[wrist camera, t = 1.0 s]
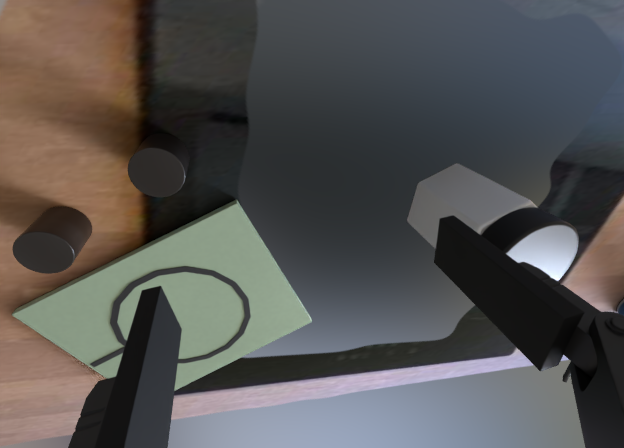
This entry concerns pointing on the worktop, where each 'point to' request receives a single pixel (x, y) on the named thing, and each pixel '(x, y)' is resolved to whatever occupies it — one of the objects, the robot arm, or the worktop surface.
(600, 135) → the worktop surface
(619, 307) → the soda can
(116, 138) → the worktop surface
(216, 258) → the board
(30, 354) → the worktop surface
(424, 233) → the jar
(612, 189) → the worktop surface
